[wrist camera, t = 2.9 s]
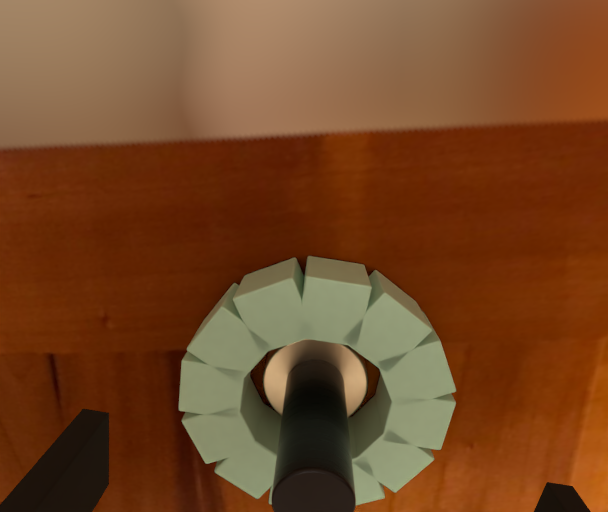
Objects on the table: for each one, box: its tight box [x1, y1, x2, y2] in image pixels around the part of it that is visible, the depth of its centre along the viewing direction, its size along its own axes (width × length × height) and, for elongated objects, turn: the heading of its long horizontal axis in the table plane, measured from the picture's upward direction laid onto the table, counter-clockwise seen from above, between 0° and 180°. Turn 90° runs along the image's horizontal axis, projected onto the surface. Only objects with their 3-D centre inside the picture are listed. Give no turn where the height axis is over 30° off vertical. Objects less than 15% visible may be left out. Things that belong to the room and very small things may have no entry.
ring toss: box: [263, 339, 368, 512], centre depth 14 cm, size 4×4×6 cm
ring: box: [178, 256, 456, 505], centre depth 16 cm, size 10×10×2 cm
